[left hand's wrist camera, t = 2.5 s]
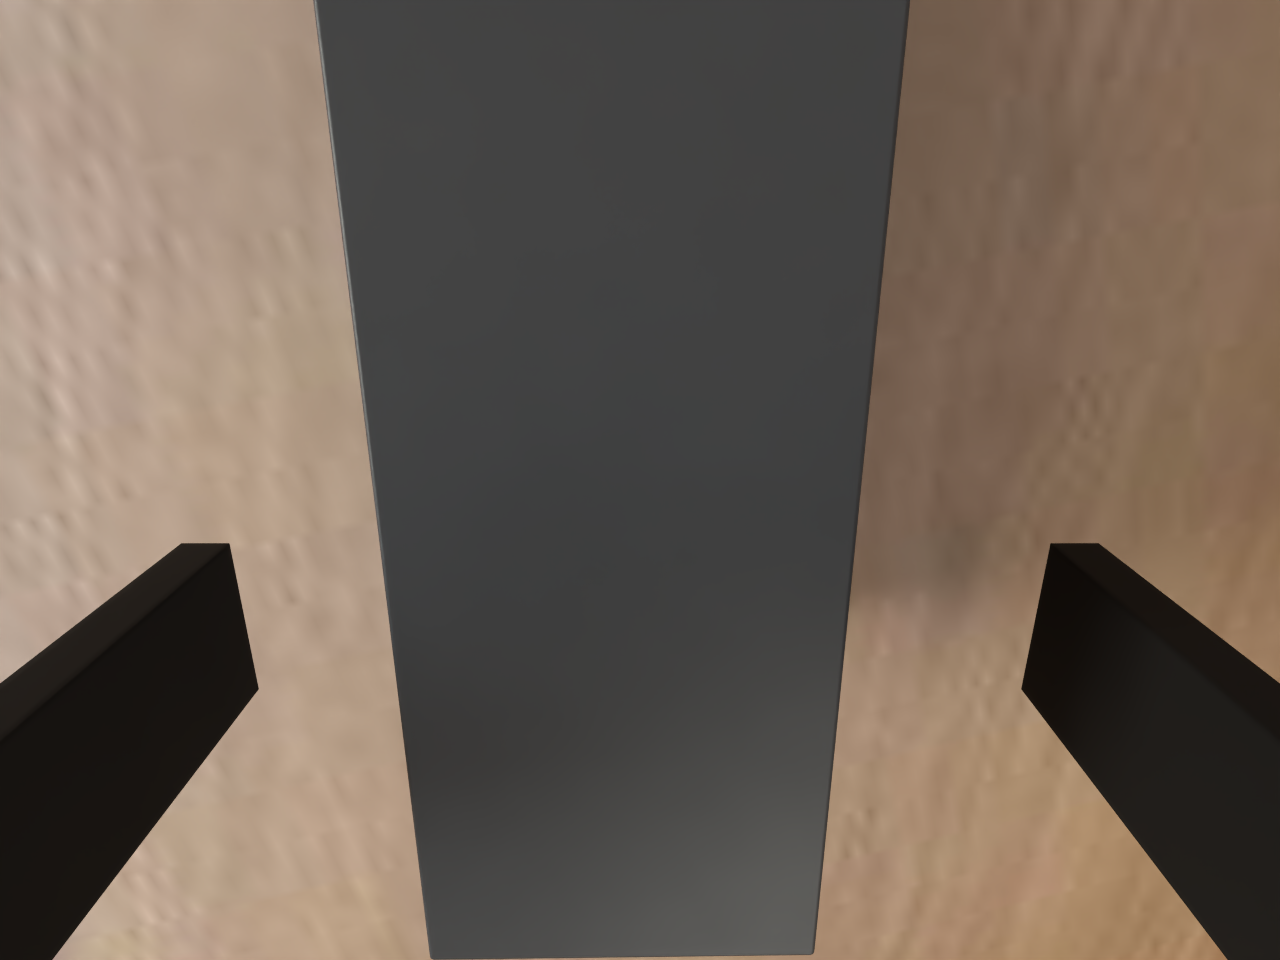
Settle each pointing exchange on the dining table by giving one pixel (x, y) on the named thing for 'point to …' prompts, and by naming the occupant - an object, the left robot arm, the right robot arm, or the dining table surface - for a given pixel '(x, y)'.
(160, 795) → the left robot arm
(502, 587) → the bar
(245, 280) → the dining table surface
